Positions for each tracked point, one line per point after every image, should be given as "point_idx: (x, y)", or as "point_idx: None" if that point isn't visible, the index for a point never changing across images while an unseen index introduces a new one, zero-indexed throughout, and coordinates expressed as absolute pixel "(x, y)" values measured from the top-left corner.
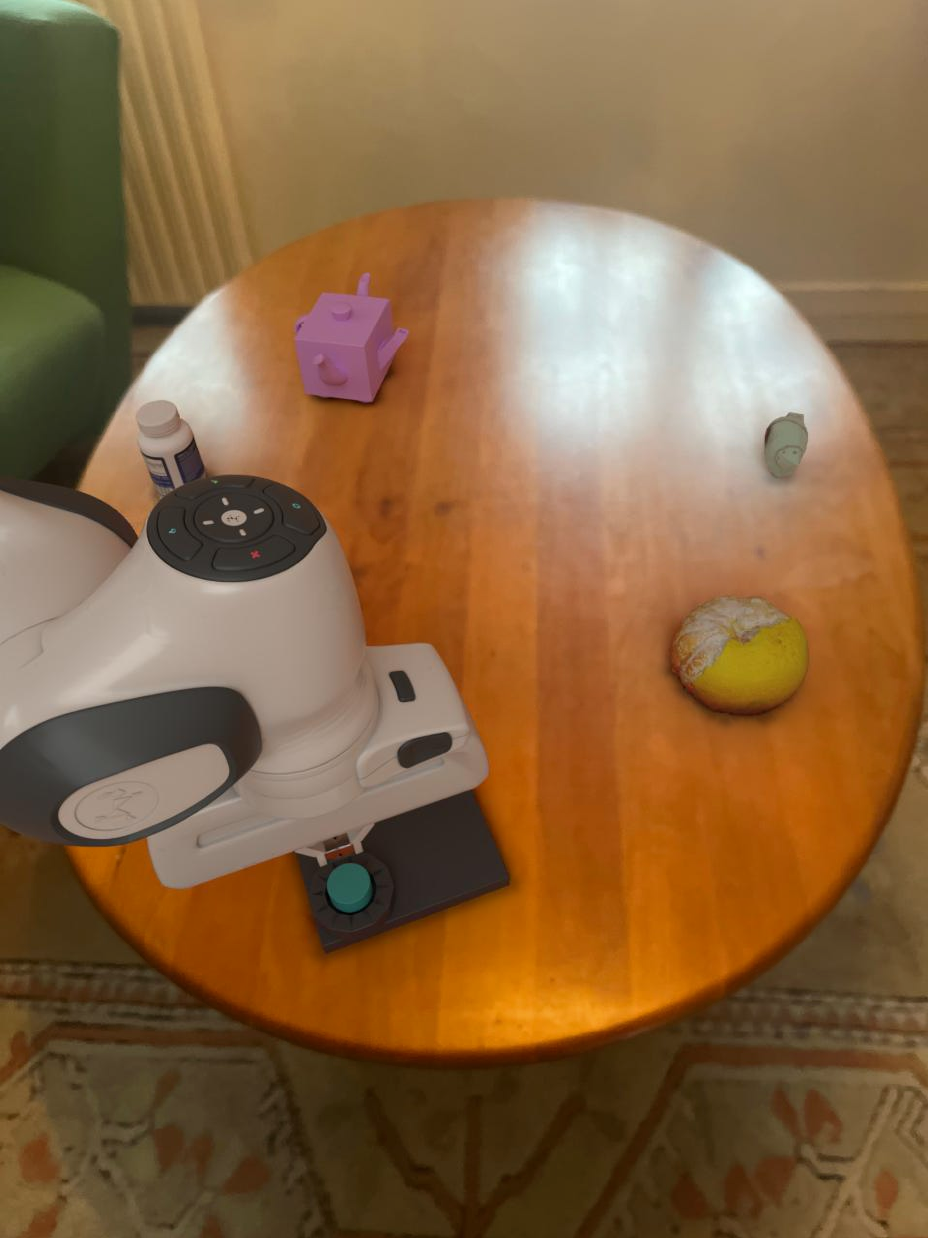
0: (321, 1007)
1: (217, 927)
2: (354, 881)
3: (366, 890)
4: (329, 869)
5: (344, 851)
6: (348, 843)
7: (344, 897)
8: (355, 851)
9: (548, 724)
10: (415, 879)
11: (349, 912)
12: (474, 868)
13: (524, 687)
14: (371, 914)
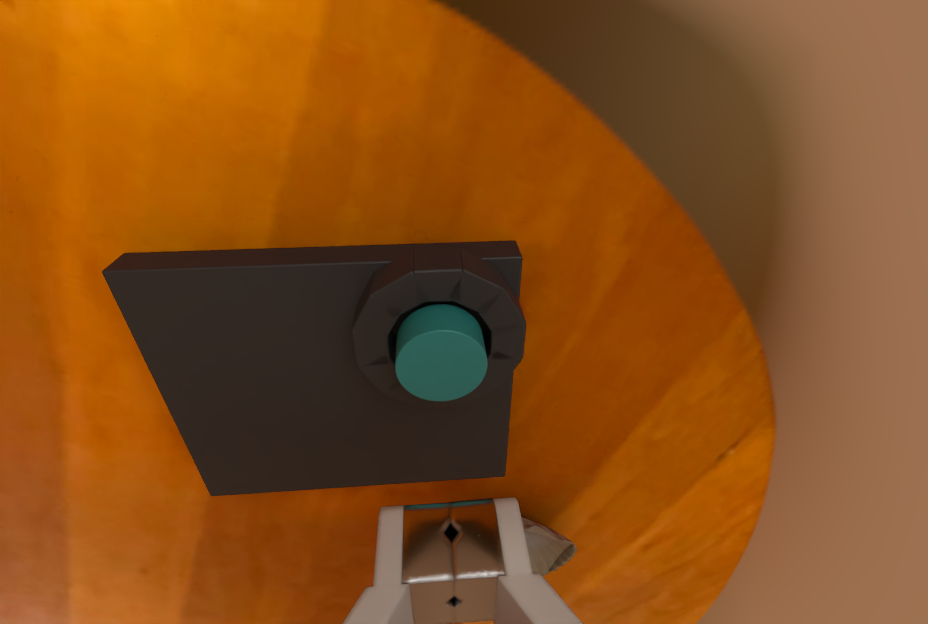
0: (557, 145)
1: (660, 334)
2: (428, 367)
3: (408, 345)
4: None
5: (435, 549)
6: (415, 587)
7: (458, 344)
8: (401, 528)
9: (43, 480)
10: (312, 321)
11: (454, 306)
12: (183, 308)
13: (90, 529)
14: (411, 291)
